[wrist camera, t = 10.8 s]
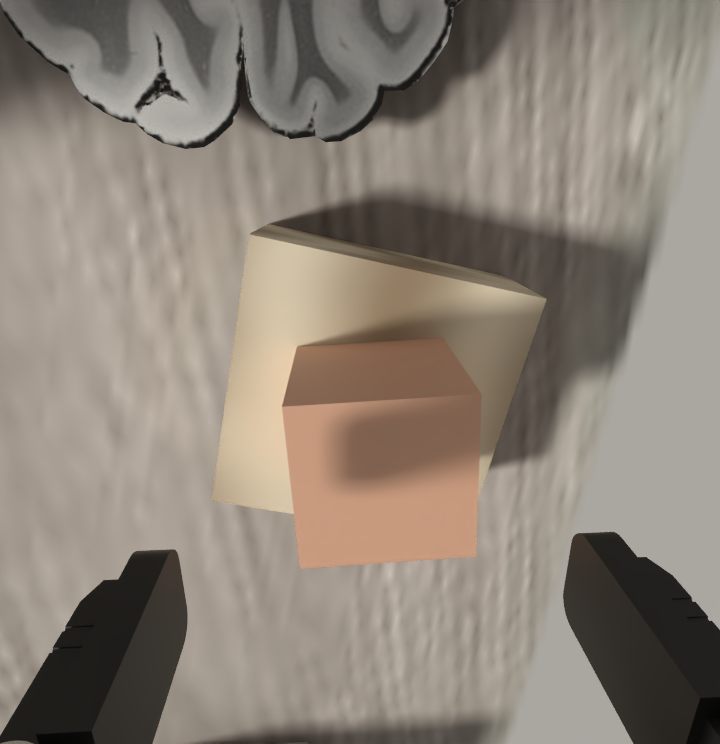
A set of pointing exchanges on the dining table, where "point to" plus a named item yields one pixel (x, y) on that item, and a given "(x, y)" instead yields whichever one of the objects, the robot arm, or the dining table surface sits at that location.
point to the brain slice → (237, 59)
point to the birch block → (355, 340)
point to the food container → (296, 743)
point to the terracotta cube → (382, 453)
